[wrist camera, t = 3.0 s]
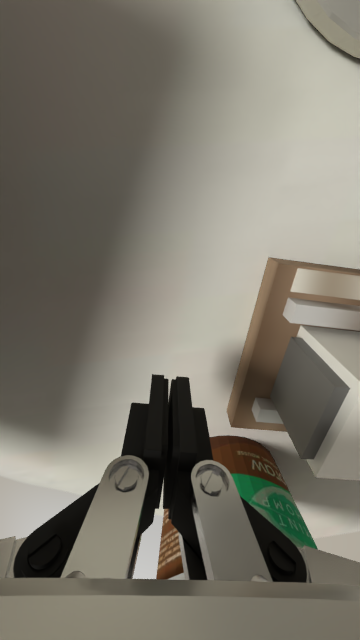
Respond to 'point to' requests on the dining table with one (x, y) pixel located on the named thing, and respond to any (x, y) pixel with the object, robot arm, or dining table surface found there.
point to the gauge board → (288, 330)
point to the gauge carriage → (322, 400)
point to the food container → (253, 486)
